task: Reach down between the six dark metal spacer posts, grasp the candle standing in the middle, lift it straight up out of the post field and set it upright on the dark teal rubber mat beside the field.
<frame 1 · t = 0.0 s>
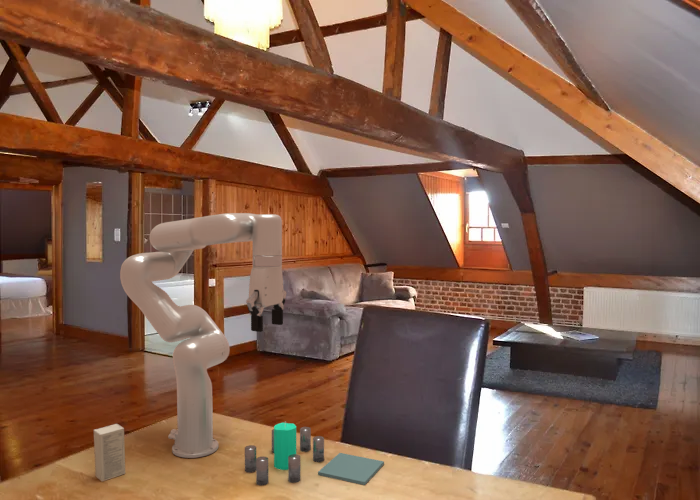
hand: (267, 327, 151), 37 cm above the table, tool pointing down, fingers open, 9 cm apart
skincare box: (110, 476, 147), on the table
mat: (351, 469, 151), on the table
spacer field: (285, 465, 153), on the table
candle: (285, 465, 153), on the table
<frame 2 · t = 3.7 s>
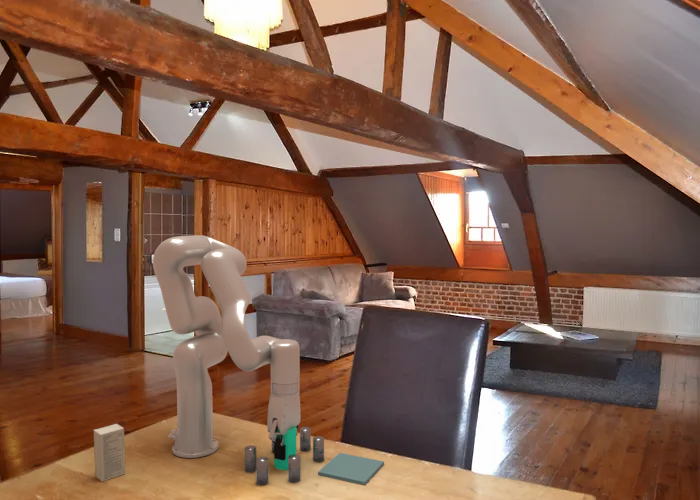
hand: (285, 454, 153), 3 cm above the table, tool pointing down, fingers closed on candle, 4 cm apart
candle: (285, 465, 153), on the table, touching gripper
everything else where it was.
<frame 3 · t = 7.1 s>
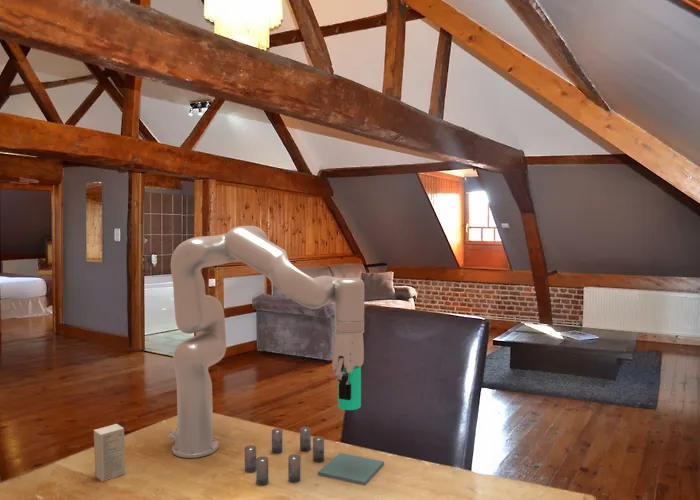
hand: (349, 395, 150), 20 cm above the table, tool pointing down, fingers closed on candle, 4 cm apart
candle: (349, 406, 150), point 17 cm above the table, touching gripper
everything else where it was.
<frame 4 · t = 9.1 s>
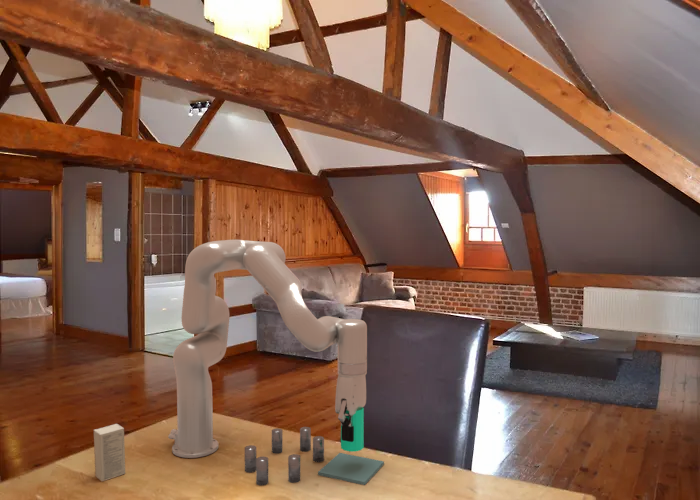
hand: (352, 436, 150), 9 cm above the table, tool pointing down, fingers closed on candle, 4 cm apart
candle: (352, 447, 150), point 6 cm above the table, touching gripper
everything else where it was.
when the fingers open (5 cm above the table, at t = 10.7 s): candle drops 1 cm, resting on mat.
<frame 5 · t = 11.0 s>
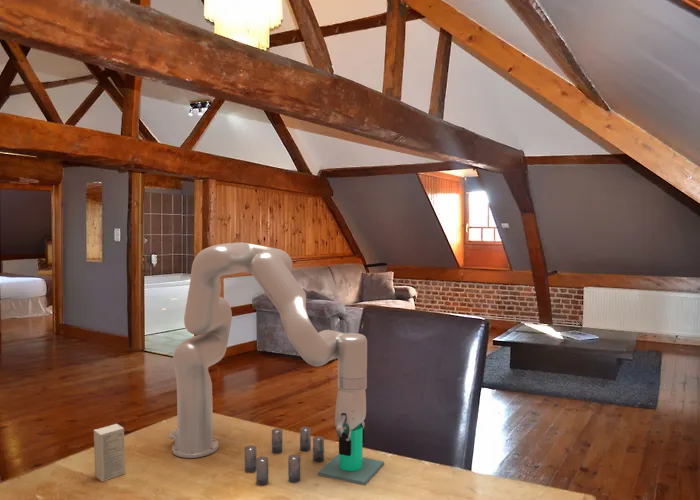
hand: (351, 448, 150), 6 cm above the table, tool pointing down, fingers open, 7 cm apart
candle: (351, 466, 151), point 1 cm above the table, touching mat
everything else where it was.
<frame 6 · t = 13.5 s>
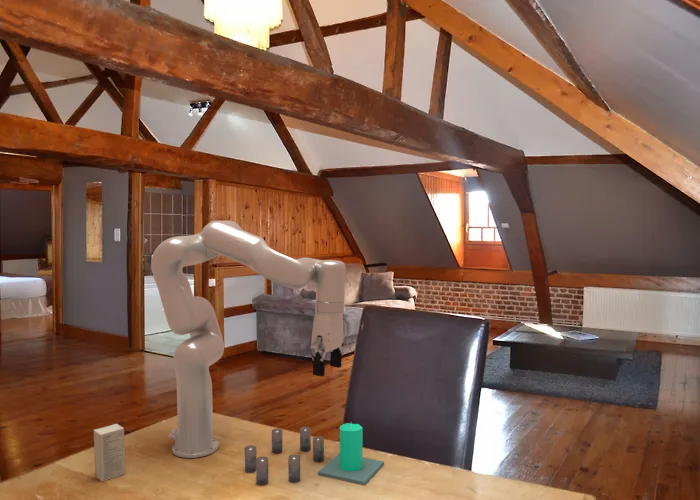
hand: (327, 371, 154), 25 cm above the table, tool pointing down, fingers open, 9 cm apart
nothing on the table moved.
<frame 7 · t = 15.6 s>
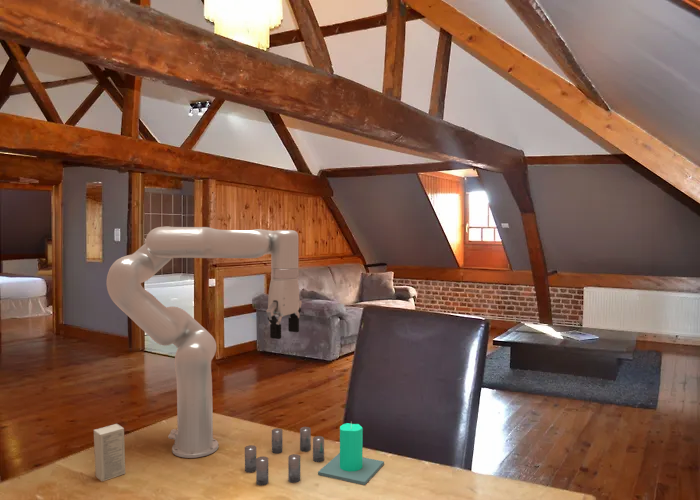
hand: (284, 334, 163), 32 cm above the table, tool pointing down, fingers open, 9 cm apart
nothing on the table moved.
at the end: candle inside the target area on the mat (0.2 cm from its centre), point 0.6 cm above the mat's base; candle tilted 0°; the gripper is holding nothing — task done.
